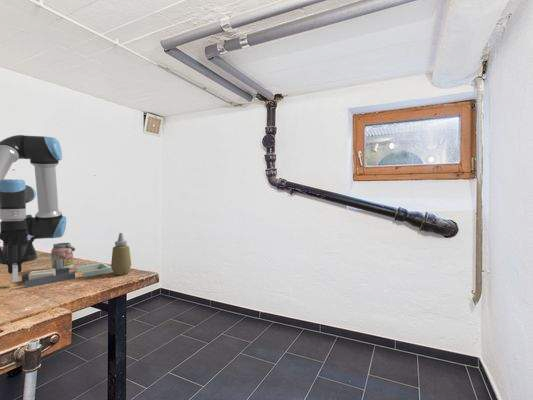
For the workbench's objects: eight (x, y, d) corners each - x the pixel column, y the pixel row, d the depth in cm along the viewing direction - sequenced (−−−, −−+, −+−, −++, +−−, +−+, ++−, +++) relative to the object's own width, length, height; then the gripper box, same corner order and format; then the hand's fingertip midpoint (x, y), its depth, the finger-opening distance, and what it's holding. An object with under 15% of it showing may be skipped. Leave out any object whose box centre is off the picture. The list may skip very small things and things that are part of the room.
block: (31, 281, 117) (31, 271, 117) (55, 278, 122) (55, 268, 122) (28, 285, 112) (28, 275, 112) (54, 282, 117) (53, 272, 116)
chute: (21, 281, 116) (21, 275, 116) (68, 273, 128) (68, 267, 128) (25, 287, 109) (25, 281, 109) (75, 278, 121) (75, 272, 120)
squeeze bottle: (127, 270, 133) (127, 231, 133) (134, 273, 128) (133, 233, 127) (108, 273, 128) (107, 233, 127) (114, 277, 122) (113, 235, 121)
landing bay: (75, 271, 131) (75, 267, 131) (103, 266, 139) (102, 262, 139) (83, 277, 122) (83, 272, 122) (112, 271, 130) (112, 267, 130)
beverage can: (64, 266, 139) (64, 241, 139) (79, 267, 138) (79, 242, 137) (46, 271, 130) (46, 245, 130) (62, 272, 129) (62, 246, 128)
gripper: (-10, 222, 103) (-8, 287, 103) (36, 219, 112) (38, 279, 113) (-11, 220, 108) (-9, 282, 109) (33, 218, 117) (34, 275, 118)
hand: (15, 281), depth 111 cm, fingers closed
